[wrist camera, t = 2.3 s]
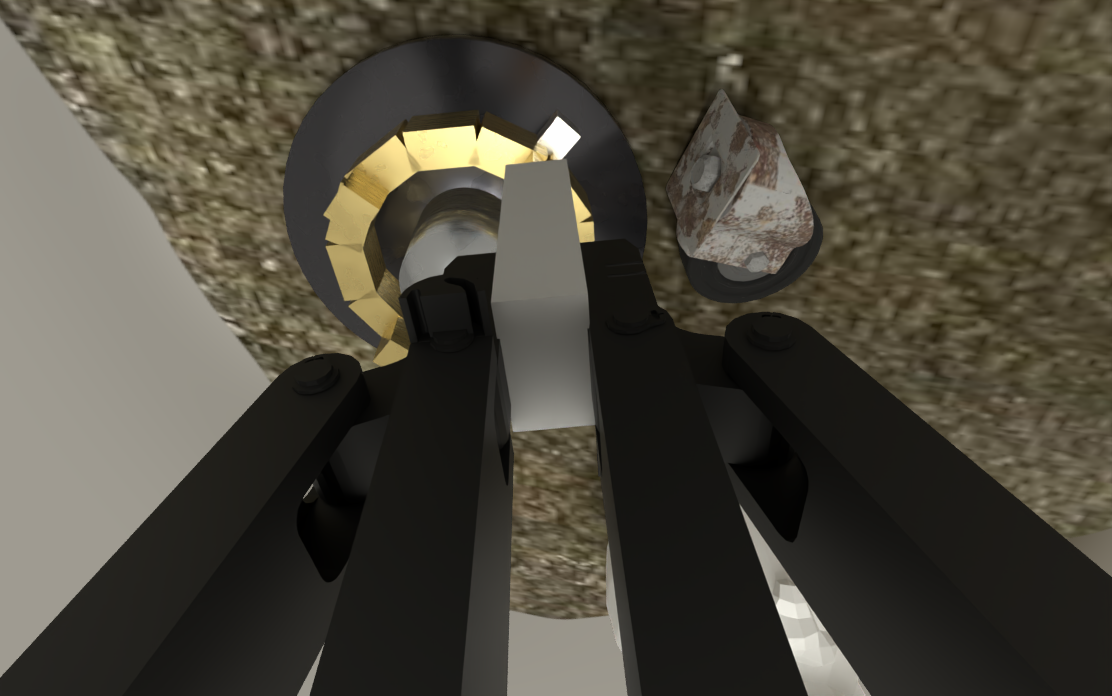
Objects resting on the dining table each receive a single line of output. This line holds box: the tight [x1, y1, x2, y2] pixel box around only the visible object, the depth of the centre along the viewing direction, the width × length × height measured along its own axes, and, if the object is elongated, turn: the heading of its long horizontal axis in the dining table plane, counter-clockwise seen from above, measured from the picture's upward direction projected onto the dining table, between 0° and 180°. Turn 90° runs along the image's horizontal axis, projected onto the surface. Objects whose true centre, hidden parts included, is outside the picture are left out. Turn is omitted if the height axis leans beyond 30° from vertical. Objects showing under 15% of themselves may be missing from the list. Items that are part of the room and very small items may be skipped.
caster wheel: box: [666, 89, 823, 303], centre depth 35 cm, size 7×11×10 cm
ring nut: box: [324, 110, 594, 367], centre depth 34 cm, size 15×15×6 cm
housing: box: [283, 34, 647, 348], centre depth 35 cm, size 22×22×8 cm
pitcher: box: [606, 504, 866, 696], centre depth 43 cm, size 19×18×25 cm
